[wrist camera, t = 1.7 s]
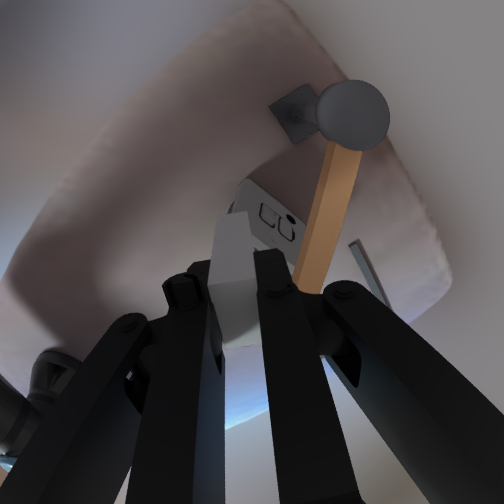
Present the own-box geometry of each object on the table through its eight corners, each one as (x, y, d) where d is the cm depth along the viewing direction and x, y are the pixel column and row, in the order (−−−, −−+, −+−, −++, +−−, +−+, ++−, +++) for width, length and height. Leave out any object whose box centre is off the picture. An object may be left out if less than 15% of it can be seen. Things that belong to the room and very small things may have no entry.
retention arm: (315, 76, 18) (331, 70, 15) (372, 95, 19) (395, 93, 16) (264, 293, 25) (268, 319, 22) (314, 299, 26) (325, 325, 22)
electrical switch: (306, 224, 36) (321, 265, 28) (277, 253, 38) (284, 299, 30) (245, 174, 34) (243, 203, 25) (217, 208, 36) (206, 246, 27)
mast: (293, 144, 32) (333, 164, 20) (268, 106, 30) (293, 100, 18) (330, 121, 31) (390, 129, 19) (306, 84, 29) (355, 66, 17)
